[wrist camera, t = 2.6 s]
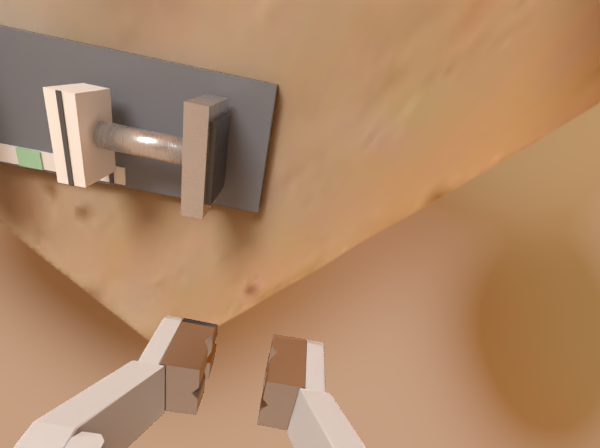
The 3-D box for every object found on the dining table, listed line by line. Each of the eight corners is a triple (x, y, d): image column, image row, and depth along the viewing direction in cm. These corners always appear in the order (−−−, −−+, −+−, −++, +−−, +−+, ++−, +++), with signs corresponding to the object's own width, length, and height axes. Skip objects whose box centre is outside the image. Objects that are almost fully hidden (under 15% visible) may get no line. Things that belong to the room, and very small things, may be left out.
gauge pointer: (109, 88, 24) (73, 93, 20) (115, 170, 27) (85, 188, 23) (82, 82, 24) (41, 87, 20) (91, 166, 27) (56, 182, 23)
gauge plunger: (233, 99, 25) (215, 108, 20) (224, 195, 28) (207, 220, 24) (116, 74, 24) (72, 78, 20) (123, 175, 28) (86, 197, 23)
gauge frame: (278, 84, 26) (266, 93, 19) (259, 207, 31) (245, 246, 24) (-87, 6, 24) (-230, -12, 18) (-45, 148, 29) (-145, 173, 23)
